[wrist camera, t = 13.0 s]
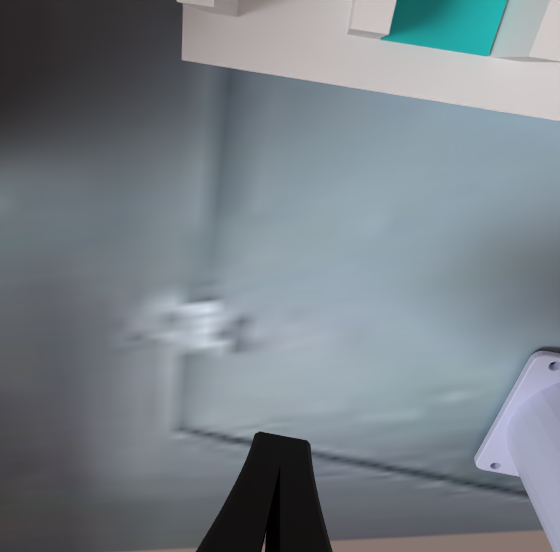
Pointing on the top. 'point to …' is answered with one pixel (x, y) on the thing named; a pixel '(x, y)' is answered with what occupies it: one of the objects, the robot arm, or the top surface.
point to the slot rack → (392, 47)
